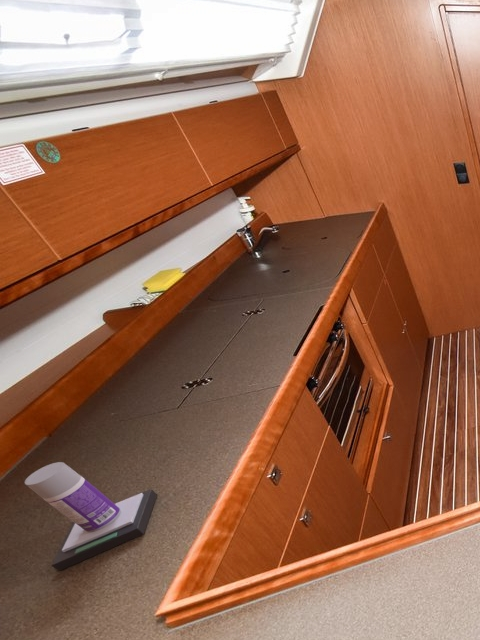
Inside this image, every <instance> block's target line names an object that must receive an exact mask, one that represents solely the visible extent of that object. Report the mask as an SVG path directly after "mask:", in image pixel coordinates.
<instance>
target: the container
mask: <svg viewBox="0 0 480 640" xmlns="http://www.w3.org/2000/svg"><path fill="white" fill-rule="evenodd" d="M24 485H25V486H27V487H28V488H29V489H30V490H32V491H33V492H34V493H35V494H37V495H38V496H39V497H40V498H41V499H43V500H44V501H45V502H46V503H48V504H49V505H51V507H53V508H54V509H55V510H57V511H58V512H60V513H61V514H62V515H63V516H65V517H66V518H68V519H69V520H70V521H72V523H73V522H74V523H76V524H77V525H78V526H80V527H81V528H82V529H84V530H85V531H87V532H94V531H97V530H100V529H102V528H104V527H106V526H108V525H109V524H111V523H112V522H113V521H114V520H116V519H117V518H118V516H119V515H120V513H121V509H120V508H119V507H117V506H116V505H115V503H114V502H113V501H111V499H109V498H108V497H107V496H106V495H104V494H103V493H102V492H101V491H100V490H99V489H97V488H96V487H95V486H94V485H93V484H92V483H90V482H89V481H88V480H87V479H86V478H84V477H83V476H82V475H81V474H79V472H78V473H77V472H76V471H75V469H73V468H71V467H70V466H69V465H67V464H66V463H65V462H64V461H63V462H62V461H57V462H53V463H50V464H47V465H45V466H43V467H41V468H39V469H37V470H35V471H34V472H32V473H31V474H30V475H29V476H28V477H27V478H25V480H24Z"/></svg>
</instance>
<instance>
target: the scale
mask: <svg viewBox="0 0 480 640" xmlns="http://www.w3.org/2000/svg"><path fill="white" fill-rule="evenodd" d="M157 496H158V493H156V492H155V491H154V489H152V488H150V489H148V490H145V491H142V492H141V493H138V494H135V495H132V496H130V497H128V498H126V499H123V500H120V501H118V502H116V503H114V504H115V505H116V506H117V507H119V508H120V509H121V513H120V515H119V516H118V518H117V519H116V520H114V521H113V522H112V523H111V524H109V525H108V526H106V527H104V528H102V529H100V530H97V531H94V532H87V531H85V530H84V529H82V528H81V527H80V526H78V525H77V524H76V523H74V522H73V521H72V523H71V524H70V527H69V529H68V531H67V532H66V535H65V537H64V539H63V540H62V543H61V544H60V547H59V549H58V551H57V553H56V555H55V557H54V559H53V560H52V563H51V567H52V568H54V569H55V570H57V571H58V572H60V571H62V570H64V569H67V568H70V567H71V566H74V565H76V564H78V563H81V562H83V561H85V560H87V559H90V558H92V557H94V556H97V555H99V554H101V553H104V552H106V551H108V550H110V549H112V548H115V547H118V546H120V545H122V544H125V543H126V542H130V541H131V540H133V539H135V538H138V537H140V536H143V535H145V531H146V528H147V526H148V523H149V520H150V517H151V514H152V511H153V508H154V506H155V502H156V499H157Z"/></svg>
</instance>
